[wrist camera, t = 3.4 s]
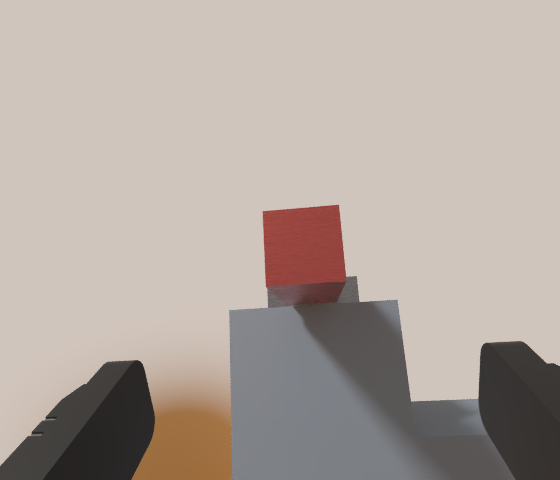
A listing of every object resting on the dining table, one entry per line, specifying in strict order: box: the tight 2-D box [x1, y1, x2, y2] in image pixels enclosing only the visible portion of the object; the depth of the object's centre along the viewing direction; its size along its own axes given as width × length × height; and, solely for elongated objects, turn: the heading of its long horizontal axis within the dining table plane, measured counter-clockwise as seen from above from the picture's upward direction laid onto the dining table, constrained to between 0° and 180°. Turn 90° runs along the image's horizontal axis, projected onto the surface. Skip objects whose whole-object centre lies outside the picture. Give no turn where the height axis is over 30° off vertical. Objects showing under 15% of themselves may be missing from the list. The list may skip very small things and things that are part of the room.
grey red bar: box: [263, 205, 359, 308], centre depth 26 cm, size 22×8×3 cm, turn 174°
